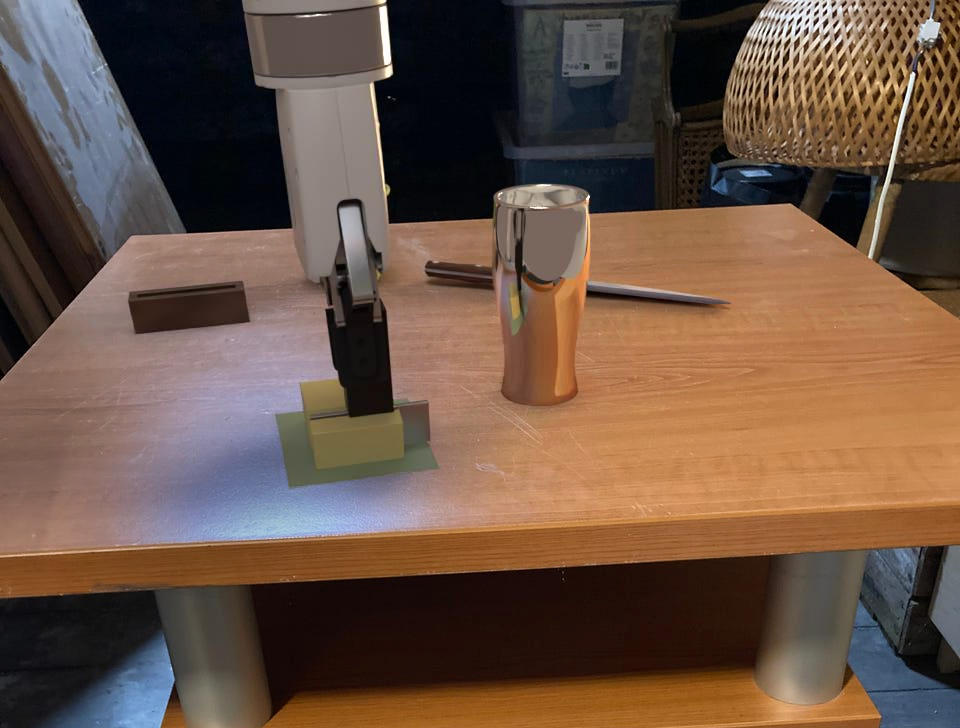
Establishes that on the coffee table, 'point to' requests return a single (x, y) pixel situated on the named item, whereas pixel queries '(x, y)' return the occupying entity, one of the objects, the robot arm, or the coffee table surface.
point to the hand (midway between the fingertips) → (361, 373)
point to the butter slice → (357, 439)
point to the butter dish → (306, 474)
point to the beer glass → (540, 287)
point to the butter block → (321, 399)
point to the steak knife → (485, 276)
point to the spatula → (385, 403)
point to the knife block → (188, 306)
